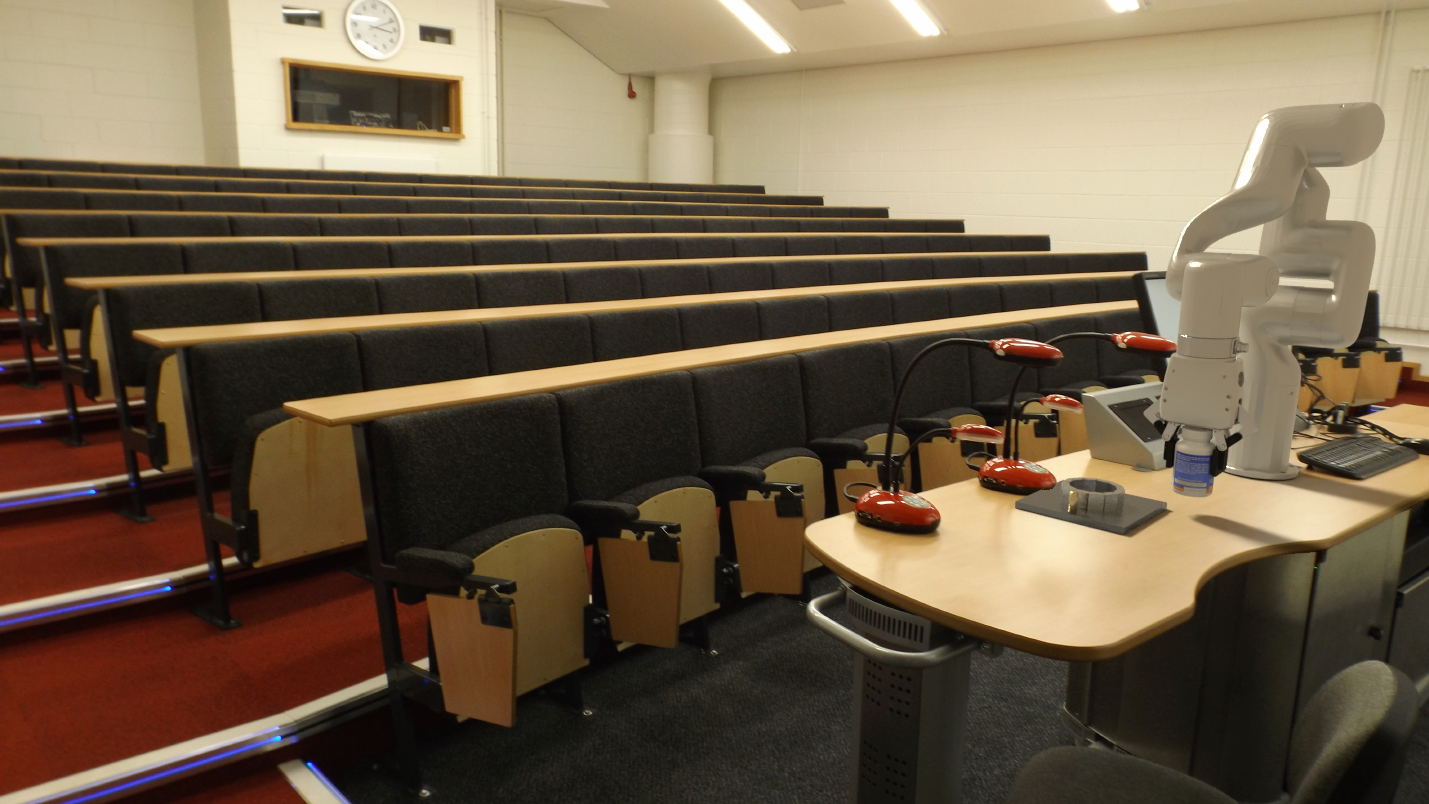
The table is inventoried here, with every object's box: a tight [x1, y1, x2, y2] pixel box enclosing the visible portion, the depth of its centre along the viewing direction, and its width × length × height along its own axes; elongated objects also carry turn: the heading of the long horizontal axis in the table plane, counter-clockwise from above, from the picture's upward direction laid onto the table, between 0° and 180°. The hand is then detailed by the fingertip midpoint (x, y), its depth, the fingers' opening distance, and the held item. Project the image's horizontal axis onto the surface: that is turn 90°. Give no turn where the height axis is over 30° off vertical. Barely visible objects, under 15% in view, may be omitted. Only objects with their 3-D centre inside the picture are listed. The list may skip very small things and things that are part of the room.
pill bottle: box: [1171, 425, 1217, 498], centre depth 133 cm, size 5×5×10 cm
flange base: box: [1014, 476, 1168, 536], centre depth 136 cm, size 16×16×4 cm
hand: (1193, 468), depth 133 cm, fingers closed on pill bottle, 5 cm apart
